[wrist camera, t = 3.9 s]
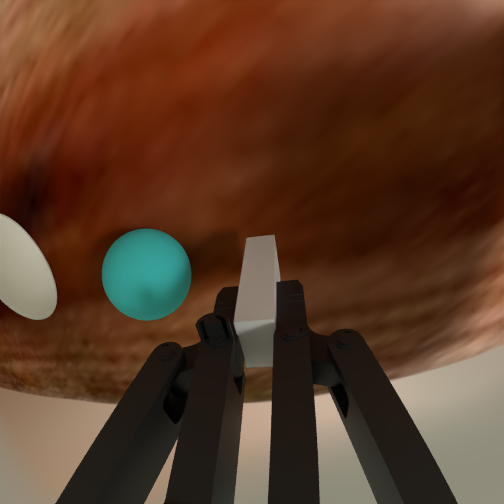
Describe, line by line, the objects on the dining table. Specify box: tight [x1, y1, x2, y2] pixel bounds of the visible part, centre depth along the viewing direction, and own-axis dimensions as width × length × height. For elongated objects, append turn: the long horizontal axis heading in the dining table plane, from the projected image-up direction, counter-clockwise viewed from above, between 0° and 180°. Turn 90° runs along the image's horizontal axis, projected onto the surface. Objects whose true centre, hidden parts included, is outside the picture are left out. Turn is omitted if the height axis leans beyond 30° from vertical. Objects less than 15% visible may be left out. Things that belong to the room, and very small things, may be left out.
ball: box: [102, 228, 191, 320], centre depth 18 cm, size 6×6×6 cm
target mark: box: [0, 213, 57, 320], centre depth 23 cm, size 12×12×1 cm
